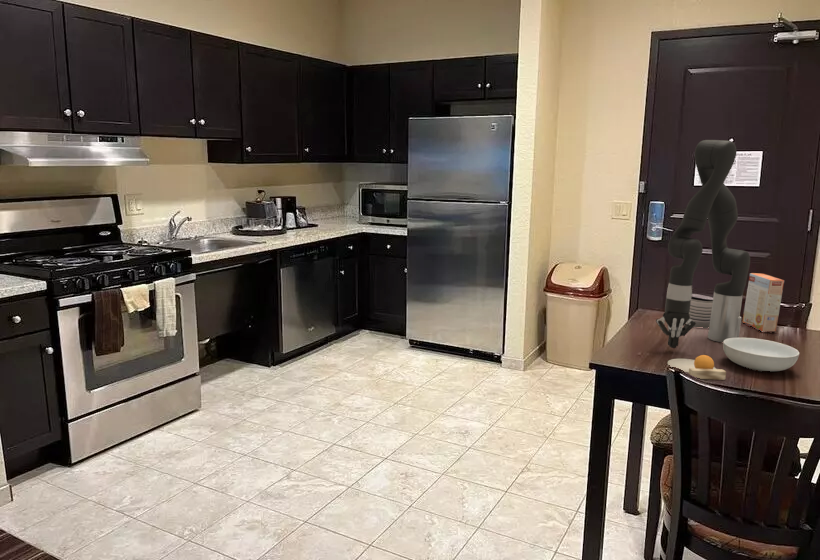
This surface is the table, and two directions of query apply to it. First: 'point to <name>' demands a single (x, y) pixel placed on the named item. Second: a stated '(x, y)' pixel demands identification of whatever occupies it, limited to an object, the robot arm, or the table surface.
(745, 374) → the table surface
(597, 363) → the table surface
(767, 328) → the cracker box
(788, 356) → the serving bowl
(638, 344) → the table surface
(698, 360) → the ball
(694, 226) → the robot arm
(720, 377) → the stopper strip
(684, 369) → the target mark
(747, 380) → the table surface
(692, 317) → the can
